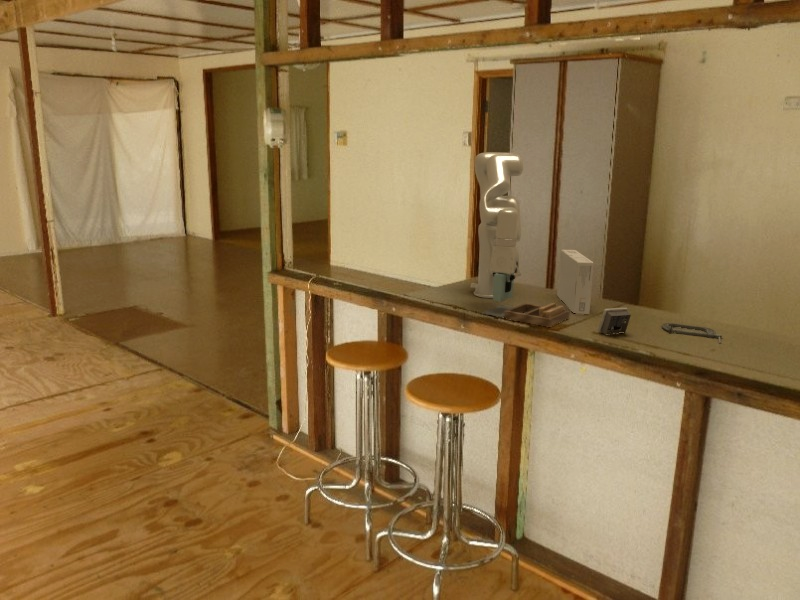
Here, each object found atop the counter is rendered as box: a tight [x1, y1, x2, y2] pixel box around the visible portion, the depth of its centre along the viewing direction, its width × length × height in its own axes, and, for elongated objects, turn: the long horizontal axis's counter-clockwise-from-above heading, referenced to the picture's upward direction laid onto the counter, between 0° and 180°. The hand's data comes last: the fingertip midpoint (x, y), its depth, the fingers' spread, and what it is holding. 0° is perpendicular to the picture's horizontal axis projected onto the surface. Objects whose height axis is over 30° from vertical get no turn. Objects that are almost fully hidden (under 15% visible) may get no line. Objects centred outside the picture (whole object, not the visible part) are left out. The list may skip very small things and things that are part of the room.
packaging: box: [556, 249, 595, 315], centre depth 268 cm, size 30×6×20 cm, turn 179°
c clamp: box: [661, 322, 723, 345], centre depth 233 cm, size 20×17×3 cm
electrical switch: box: [597, 307, 632, 336], centre depth 229 cm, size 9×5×9 cm, turn 108°
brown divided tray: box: [503, 302, 571, 328], centre depth 247 cm, size 18×16×3 cm
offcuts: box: [539, 302, 565, 318], centre depth 244 cm, size 5×12×6 cm, turn 143°
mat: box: [480, 304, 515, 318], centre depth 256 cm, size 9×16×1 cm, turn 143°
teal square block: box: [492, 273, 515, 302], centre depth 253 cm, size 3×10×10 cm, turn 143°
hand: (503, 290), depth 254 cm, fingers closed on teal square block, 3 cm apart
